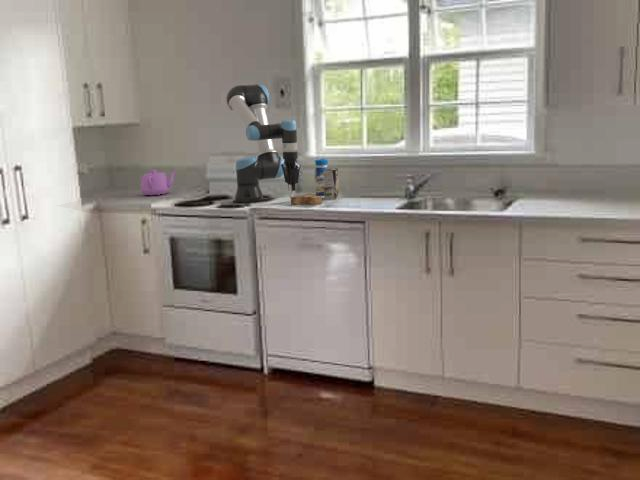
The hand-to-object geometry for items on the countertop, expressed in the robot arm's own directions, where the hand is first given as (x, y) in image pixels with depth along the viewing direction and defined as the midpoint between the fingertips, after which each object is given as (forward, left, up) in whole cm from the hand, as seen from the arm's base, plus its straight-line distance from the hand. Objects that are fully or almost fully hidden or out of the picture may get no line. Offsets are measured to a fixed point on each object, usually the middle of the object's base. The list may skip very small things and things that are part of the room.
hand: (292, 196), depth 347 cm
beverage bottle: (-4, +26, -4) cm, 26 cm away
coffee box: (+10, +19, -4) cm, 22 cm away
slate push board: (+9, 0, -3) cm, 10 cm away
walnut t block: (+13, 0, -3) cm, 13 cm away
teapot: (-104, -19, -4) cm, 106 cm away
